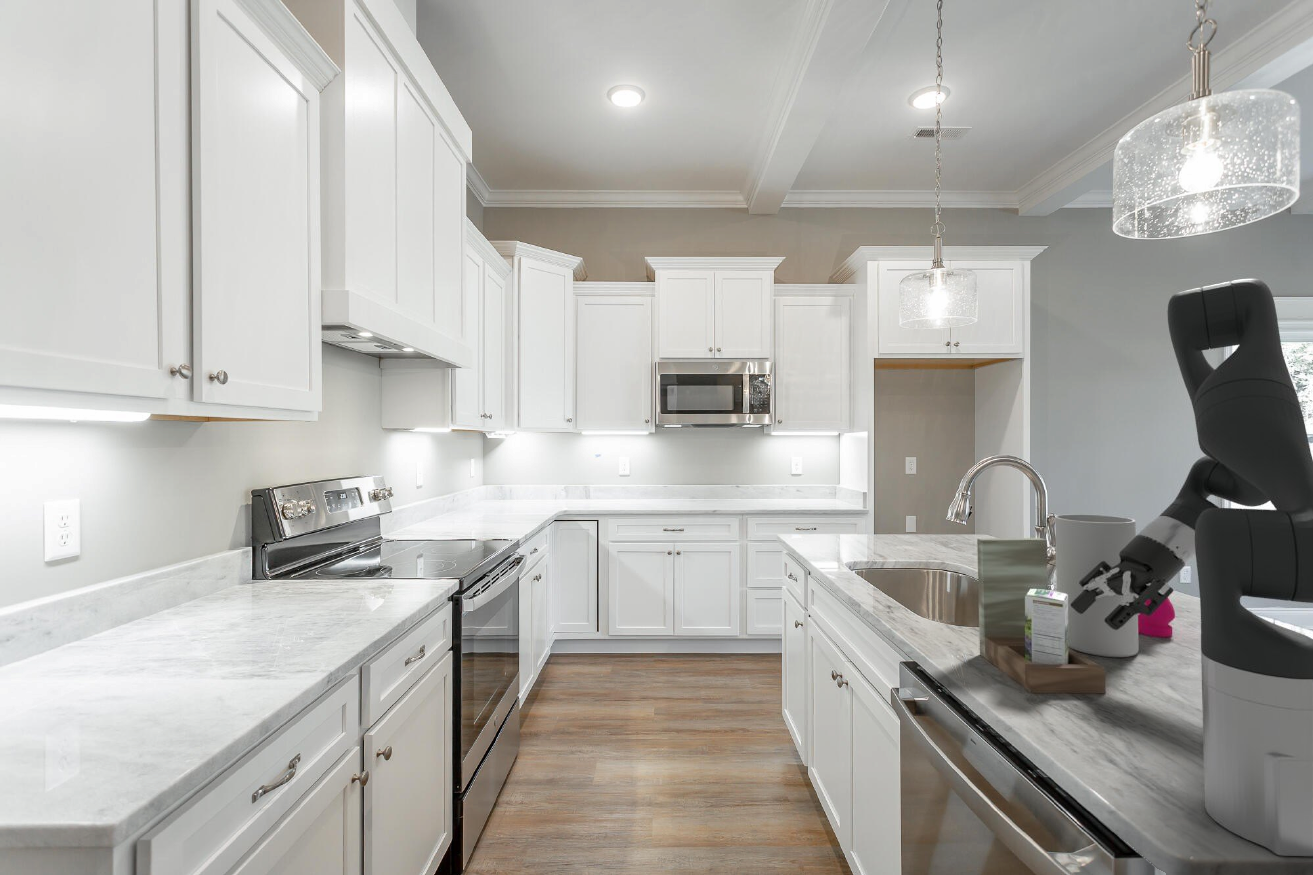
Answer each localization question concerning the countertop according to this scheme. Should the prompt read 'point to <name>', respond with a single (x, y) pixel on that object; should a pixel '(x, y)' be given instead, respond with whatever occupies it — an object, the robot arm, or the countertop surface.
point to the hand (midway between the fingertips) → (1091, 617)
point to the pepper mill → (1157, 620)
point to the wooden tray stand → (1023, 618)
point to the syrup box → (1046, 627)
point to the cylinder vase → (1076, 556)
